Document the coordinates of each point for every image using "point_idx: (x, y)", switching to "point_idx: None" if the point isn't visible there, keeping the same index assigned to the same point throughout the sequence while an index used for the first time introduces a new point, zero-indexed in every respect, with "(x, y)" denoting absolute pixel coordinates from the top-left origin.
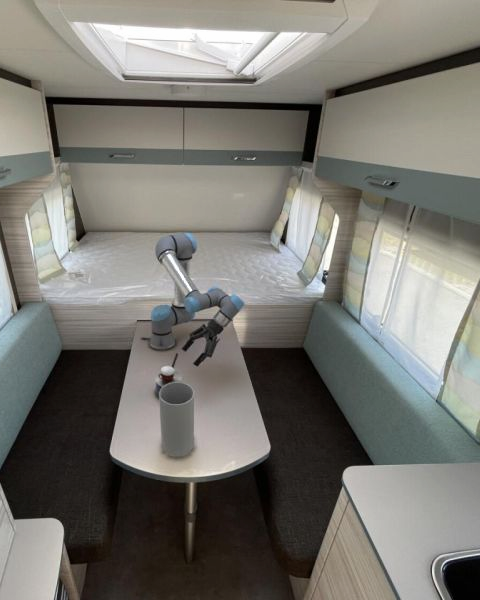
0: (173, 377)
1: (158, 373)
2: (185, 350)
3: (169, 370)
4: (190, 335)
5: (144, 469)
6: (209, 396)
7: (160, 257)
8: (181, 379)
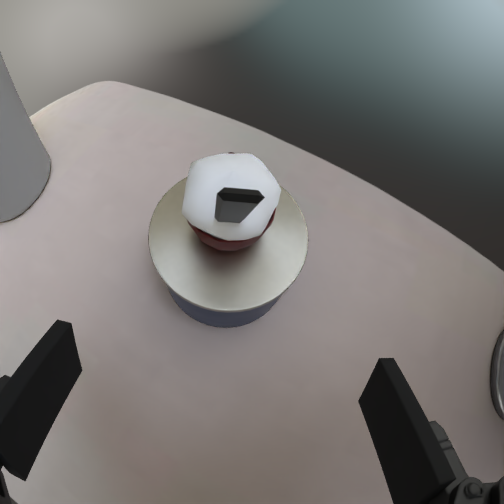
0: (217, 256)
1: (297, 205)
2: (366, 399)
3: (192, 173)
4: (495, 491)
5: (36, 112)
6: (96, 410)
7: None
8: (172, 289)
